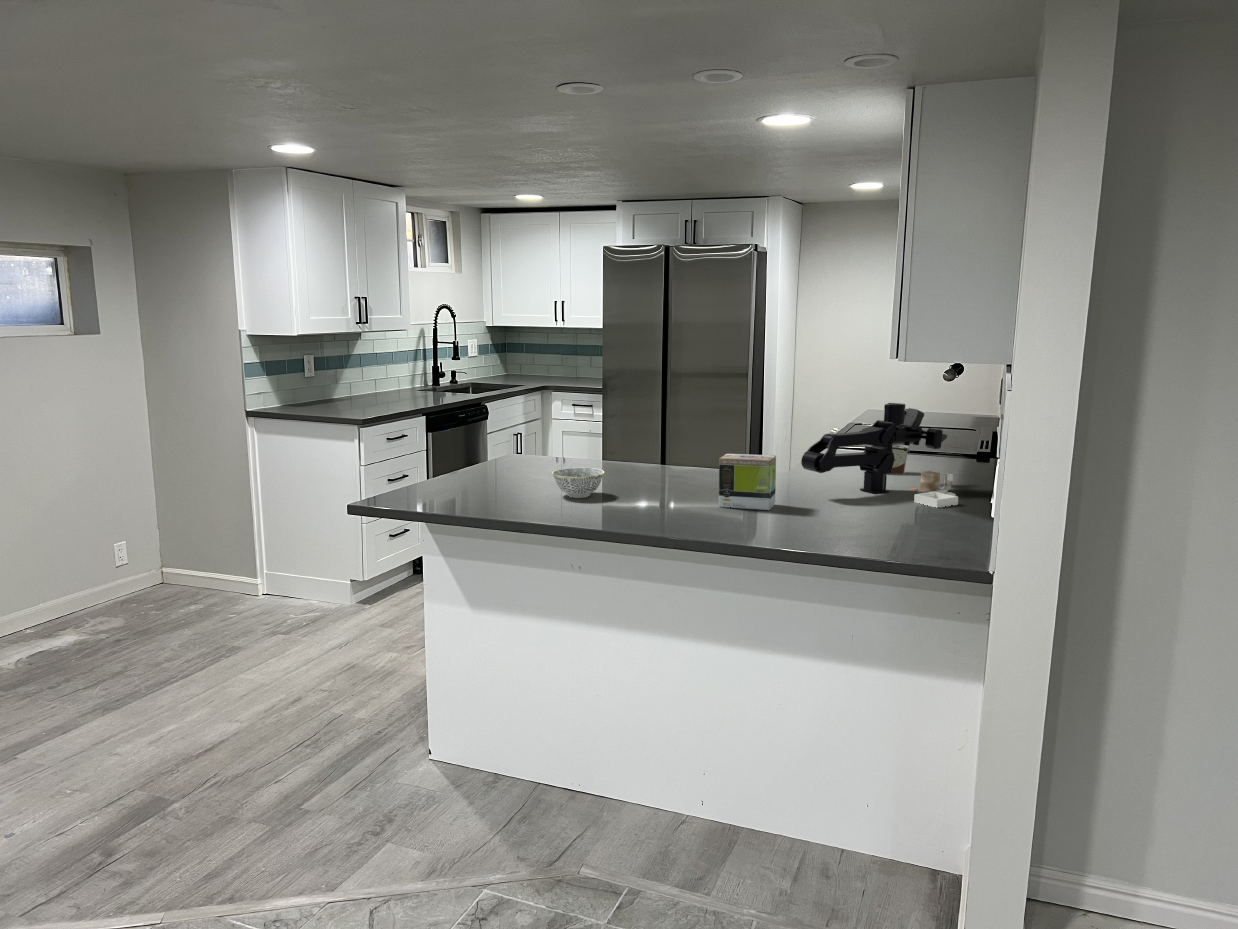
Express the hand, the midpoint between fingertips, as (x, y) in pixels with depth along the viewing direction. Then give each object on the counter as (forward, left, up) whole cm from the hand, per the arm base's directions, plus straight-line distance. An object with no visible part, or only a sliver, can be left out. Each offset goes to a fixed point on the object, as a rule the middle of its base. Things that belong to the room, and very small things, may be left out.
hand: (935, 434), depth 293 cm
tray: (-22, -22, -17) cm, 35 cm away
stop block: (-9, -7, -17) cm, 21 cm away
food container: (+3, +22, -17) cm, 28 cm away
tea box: (-73, +2, -17) cm, 75 cm away
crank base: (-13, -12, -17) cm, 24 cm away
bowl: (-110, +38, -17) cm, 118 cm away
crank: (-10, -14, -15) cm, 23 cm away
